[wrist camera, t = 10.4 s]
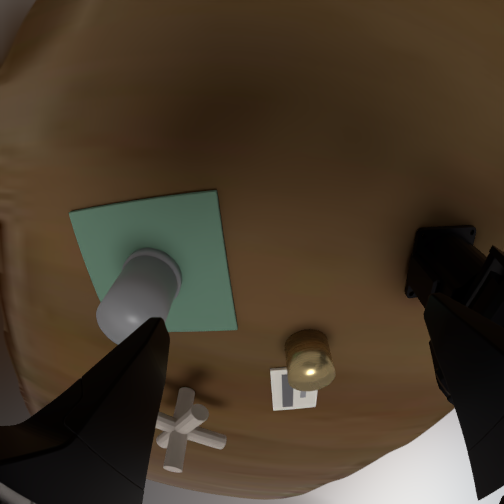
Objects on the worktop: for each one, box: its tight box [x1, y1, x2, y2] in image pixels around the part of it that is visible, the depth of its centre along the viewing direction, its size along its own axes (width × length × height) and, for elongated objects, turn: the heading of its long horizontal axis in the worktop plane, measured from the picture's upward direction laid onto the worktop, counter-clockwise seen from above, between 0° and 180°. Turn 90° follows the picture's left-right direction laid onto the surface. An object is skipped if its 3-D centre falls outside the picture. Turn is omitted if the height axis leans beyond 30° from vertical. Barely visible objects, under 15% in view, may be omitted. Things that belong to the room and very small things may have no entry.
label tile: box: [270, 367, 318, 411], centre depth 29 cm, size 5×8×1 cm, turn 5°
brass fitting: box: [285, 329, 335, 391], centre depth 24 cm, size 4×4×4 cm
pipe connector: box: [155, 387, 226, 472], centre depth 26 cm, size 10×10×10 cm
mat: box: [69, 190, 238, 332], centre depth 22 cm, size 12×12×1 cm
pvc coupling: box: [96, 248, 182, 345], centre depth 19 cm, size 5×5×6 cm
